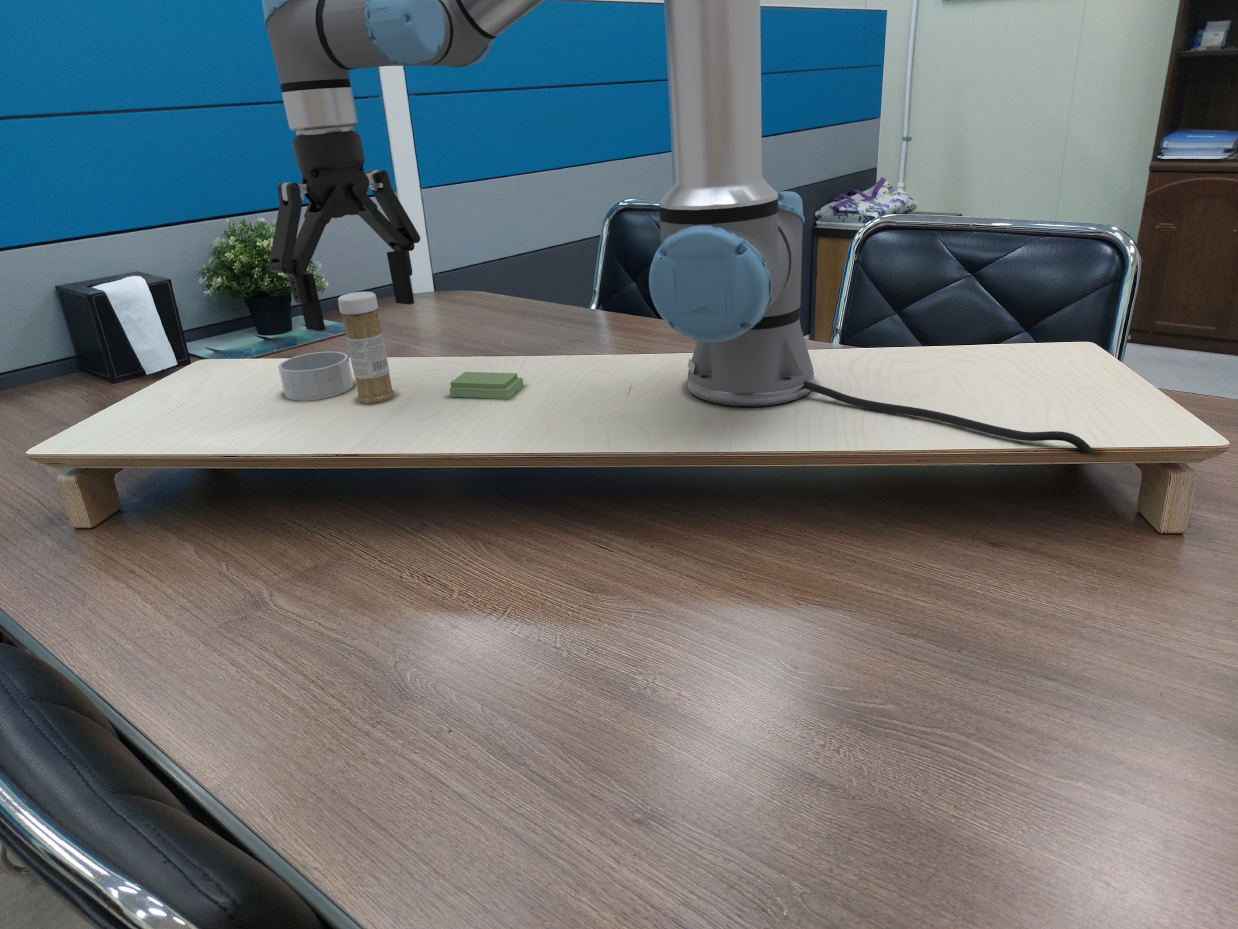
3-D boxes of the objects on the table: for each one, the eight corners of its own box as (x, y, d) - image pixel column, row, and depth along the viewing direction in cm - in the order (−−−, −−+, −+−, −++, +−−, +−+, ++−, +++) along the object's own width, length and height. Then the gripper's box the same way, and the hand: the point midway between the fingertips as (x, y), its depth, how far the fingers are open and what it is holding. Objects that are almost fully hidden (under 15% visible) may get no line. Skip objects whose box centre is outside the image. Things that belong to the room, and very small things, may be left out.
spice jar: (385, 390, 110) (366, 288, 105) (400, 397, 107) (381, 293, 102) (352, 398, 108) (331, 295, 102) (366, 407, 104) (345, 300, 99)
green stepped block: (523, 386, 108) (522, 372, 108) (509, 399, 104) (507, 384, 103) (467, 384, 110) (465, 370, 110) (450, 397, 106) (448, 382, 105)
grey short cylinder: (365, 380, 115) (360, 352, 113) (329, 401, 107) (323, 372, 106) (310, 378, 117) (304, 350, 116) (271, 399, 110) (264, 370, 108)
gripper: (389, 125, 106) (418, 291, 114) (203, 142, 88) (254, 338, 96) (430, 122, 101) (457, 295, 110) (243, 139, 83) (292, 345, 92)
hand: (362, 316), depth 103 cm, fingers open, 13 cm apart
